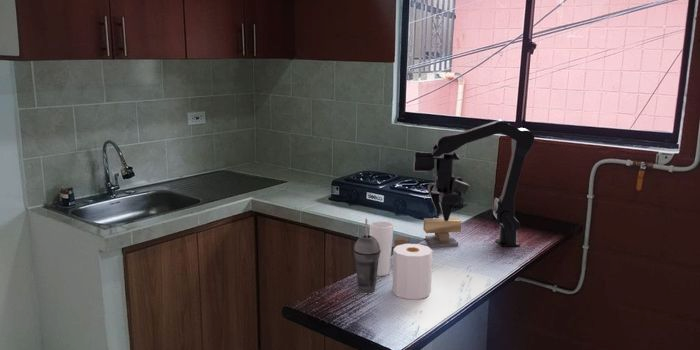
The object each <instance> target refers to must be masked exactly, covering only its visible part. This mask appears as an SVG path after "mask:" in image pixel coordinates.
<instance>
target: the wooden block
mask: <svg viewBox="0 0 700 350" xmlns="http://www.w3.org/2000/svg"><path fill="white" fill-rule="evenodd" d="M393 242H394V244H393V245H394V246H393V249H394V248H395V247H396V246H398V245H402V244H410V237H409V236H401V235H397V236H396V237H395V239H394V241H393Z"/></svg>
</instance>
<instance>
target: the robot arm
mask: <svg viewBox="0 0 700 350" xmlns="http://www.w3.org/2000/svg"><path fill="white" fill-rule="evenodd" d="M497 134H502V135H505V136H507V137H508V138H510V139H511V157H510V160H509V165H508V168H507V172H506V176H505V180H504V184H503V189H502V192H501V195H500V196H499V197H498V198H497V197H494V199H493V201H494V202H493V205H492V207H491V210H492V213H493V216H494V217H495V218H496V220H497V221H498V222H499V224H500V225H499V232H498V233H499V236H498V237H499V238H498V239H497V238H496V239H495V242H496V243H497V244H499V245H500V246H501V247H519V246H521V244H520V243H519V242H518V241H517V236H518V231H519V229H520V227H521V223H520V222H519V220H517V218H516V216H515V212H516V211H515V210H516V209H515V208H516V205H515V197H516V193H517V190H518V185H519V182H520V178H521V174H522V170H523V167H524V164H525V159H526V157H527V155H528V154H529V153H530V151H531V149H532V147H533V145H534V142H535V134H533V132H532V131H531V130H529V129H527V128H525V127H524V128H523V127H520V128H519V127H518V128H517V127H515V126H513V125H511V124H510V123H507V122H506V121H505V120H502V119H496V120H494V121H492V122H489V123H485V124H482V125H478V126H477V127H473V128H469V129H467V130H463V131H460V132H459V131H458V132H447V133H443V134H440V135H438V137H437V138H436V142H435V143H436V144H434V146H433V147H432V148H431V149H430V151H419V150H414V158H413V172H416V173H417V172H419V173H432V172H431V171H433V170H435V173H433V177H434V178H435V179H434V180H435V182H429V184H427V192H428V194H429V196H430V198H431V202H432V204H433V206H434V210H435V212H436V214H439V215H440V214H441V213H442V218H444V220H445V221H448V219H449V218H451V213H452V210H453V208H454V207H455V206H457V205H459V204H460V203H461V196H460V195H459V194H458V193H457V192H459V193H463V194H464V195H467V193H468V191H469V189H470V184H468V183H466V181H465V182H464V181H463V178H462V177H460V176H456V177H455V176H454V161H459V160H460V159H461V158H460V157H459V155H458V154H457V153H456V150H458V149H460V148H461V147H463V146H464V145H466V144H468V143H472V142H475V141H478V140H481V139H482V140H483V139H485V138H488V137H491V136H494V135H497ZM456 191H457V192H456Z"/></svg>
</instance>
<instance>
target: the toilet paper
mask: <svg viewBox="0 0 700 350" xmlns="http://www.w3.org/2000/svg"><path fill="white" fill-rule="evenodd" d="M392 252H393V253H392V280H391V281H392V287H391V288H392V289H391V291H392V293H393V294H394V295H395V296H396V297H400V298H403V299H406V300H421V299H424V298H428V297H429V296H430V294H431V291H432V290H431V289H432V272H433V271H432V269H433V268H432V267H433V265H432V264H433V249H432V248H431V247H429V246H427V245H423V244H419V243H409V244H402V245H398V246H396V247H395V248H394V247H393V248H392Z"/></svg>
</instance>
